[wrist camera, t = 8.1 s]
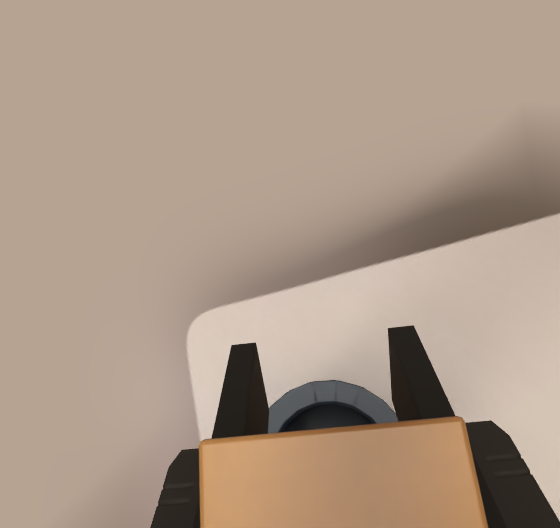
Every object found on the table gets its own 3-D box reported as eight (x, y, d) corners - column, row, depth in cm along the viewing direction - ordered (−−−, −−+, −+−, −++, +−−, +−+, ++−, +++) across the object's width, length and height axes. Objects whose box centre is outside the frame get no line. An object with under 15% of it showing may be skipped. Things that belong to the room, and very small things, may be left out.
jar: (255, 422, 36) (226, 416, 26) (364, 377, 36) (373, 356, 27) (298, 550, 32) (282, 595, 23) (418, 500, 32) (450, 525, 23)
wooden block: (304, 527, 22) (202, 796, 5) (296, 439, 24) (196, 440, 7) (387, 521, 22) (547, 785, 5) (373, 432, 23) (465, 415, 7)
